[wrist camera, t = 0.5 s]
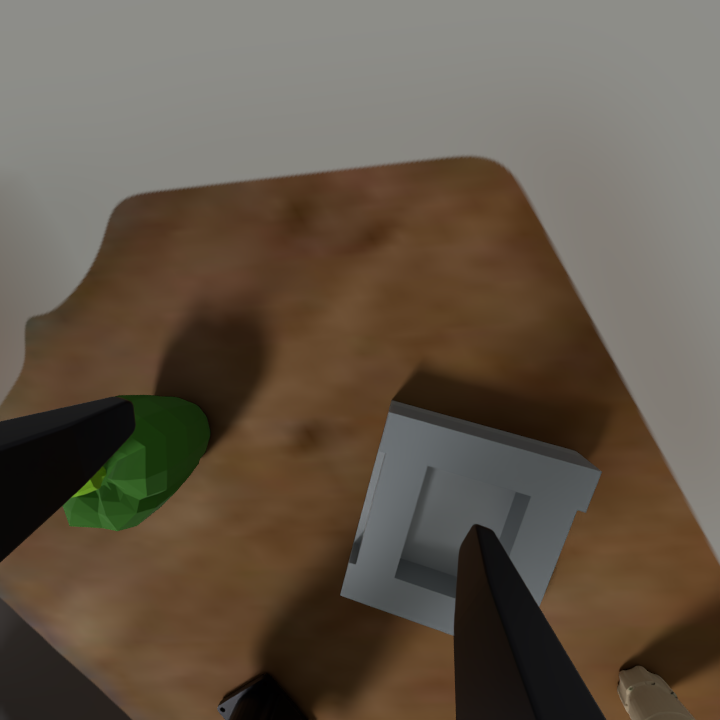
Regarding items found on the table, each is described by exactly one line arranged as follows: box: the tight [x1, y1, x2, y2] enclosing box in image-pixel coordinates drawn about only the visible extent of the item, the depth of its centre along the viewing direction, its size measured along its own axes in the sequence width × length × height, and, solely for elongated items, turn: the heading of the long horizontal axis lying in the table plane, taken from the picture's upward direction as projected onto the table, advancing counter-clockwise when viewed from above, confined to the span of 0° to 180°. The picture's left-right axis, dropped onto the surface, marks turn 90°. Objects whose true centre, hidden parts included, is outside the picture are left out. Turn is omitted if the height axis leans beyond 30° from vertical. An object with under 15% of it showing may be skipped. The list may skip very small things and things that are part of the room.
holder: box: [340, 400, 602, 636], centre depth 22 cm, size 14×13×3 cm
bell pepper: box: [63, 395, 211, 531], centre depth 22 cm, size 8×8×10 cm
